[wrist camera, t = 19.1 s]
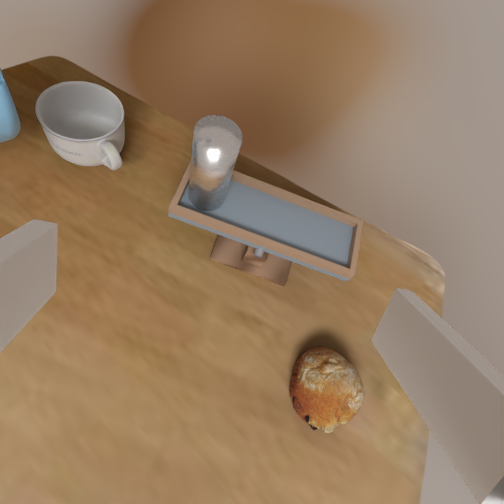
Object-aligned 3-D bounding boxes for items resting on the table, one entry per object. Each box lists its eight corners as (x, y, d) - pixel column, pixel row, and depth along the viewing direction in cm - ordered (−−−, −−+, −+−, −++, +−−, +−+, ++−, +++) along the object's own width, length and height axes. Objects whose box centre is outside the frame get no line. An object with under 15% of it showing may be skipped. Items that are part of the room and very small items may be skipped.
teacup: (44, 127, 50) (23, 85, 43) (115, 113, 54) (107, 71, 47) (75, 202, 47) (58, 170, 40) (148, 181, 51) (144, 147, 44)
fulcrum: (209, 259, 49) (214, 246, 44) (233, 195, 54) (239, 178, 49) (283, 286, 50) (295, 276, 45) (300, 221, 55) (312, 206, 50)
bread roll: (345, 386, 50) (381, 365, 45) (334, 452, 42) (376, 435, 37) (292, 350, 50) (322, 324, 45) (271, 409, 42) (304, 386, 37)
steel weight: (182, 203, 43) (186, 142, 32) (195, 174, 45) (203, 108, 34) (218, 216, 43) (234, 161, 33) (229, 187, 46) (248, 126, 35)
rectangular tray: (165, 224, 43) (165, 214, 41) (194, 162, 48) (195, 149, 45) (342, 289, 46) (353, 283, 43) (353, 224, 50) (364, 215, 48)
